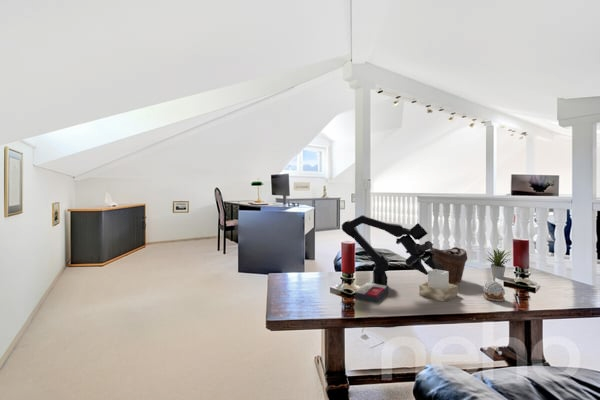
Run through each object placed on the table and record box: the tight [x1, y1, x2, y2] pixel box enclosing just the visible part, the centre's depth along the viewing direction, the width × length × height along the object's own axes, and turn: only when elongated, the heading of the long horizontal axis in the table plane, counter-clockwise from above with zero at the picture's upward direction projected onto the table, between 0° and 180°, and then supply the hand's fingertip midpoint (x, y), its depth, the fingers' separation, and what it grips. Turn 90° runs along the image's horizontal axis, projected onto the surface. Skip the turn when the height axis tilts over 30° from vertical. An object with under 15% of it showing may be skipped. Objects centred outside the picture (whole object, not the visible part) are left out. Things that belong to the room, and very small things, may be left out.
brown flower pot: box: [429, 247, 468, 284], centre depth 164 cm, size 18×20×18 cm
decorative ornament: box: [483, 265, 506, 302], centre depth 135 cm, size 8×8×15 cm
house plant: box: [486, 247, 514, 279], centre depth 168 cm, size 14×14×16 cm
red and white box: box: [353, 282, 389, 304], centre depth 141 cm, size 11×4×15 cm
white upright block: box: [427, 269, 450, 291], centre depth 141 cm, size 6×6×10 cm
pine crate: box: [418, 281, 458, 302], centre depth 141 cm, size 12×12×4 cm
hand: (432, 272), depth 143 cm, fingers open, 9 cm apart
